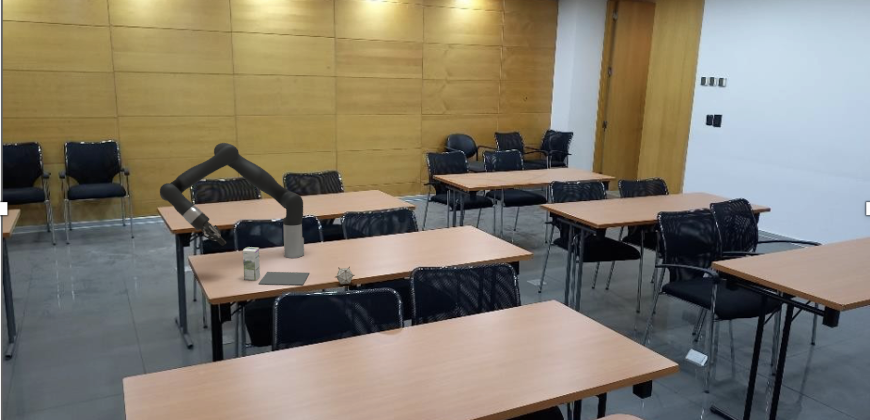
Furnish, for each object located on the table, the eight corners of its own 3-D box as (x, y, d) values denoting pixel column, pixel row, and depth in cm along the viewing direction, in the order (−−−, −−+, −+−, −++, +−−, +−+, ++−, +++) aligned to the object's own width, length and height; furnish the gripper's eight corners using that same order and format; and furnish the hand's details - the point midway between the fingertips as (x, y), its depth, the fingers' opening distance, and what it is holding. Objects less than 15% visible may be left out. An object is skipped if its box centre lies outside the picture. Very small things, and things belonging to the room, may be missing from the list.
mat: (258, 284, 281) (258, 283, 281) (267, 272, 297) (267, 271, 297) (302, 285, 282) (302, 284, 282) (309, 273, 297) (309, 272, 297)
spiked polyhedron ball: (347, 293, 284) (349, 281, 277) (330, 285, 285) (332, 273, 278) (356, 279, 290) (358, 266, 283) (339, 271, 291) (342, 258, 284)
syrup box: (260, 276, 292) (259, 247, 288) (255, 281, 286) (254, 250, 283) (248, 276, 292) (247, 246, 289) (243, 280, 286) (242, 250, 283)
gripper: (196, 215, 275) (225, 242, 278) (206, 208, 288) (234, 234, 291) (185, 227, 276) (214, 254, 279) (195, 219, 289) (223, 245, 292)
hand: (224, 244), depth 285 cm, fingers closed
